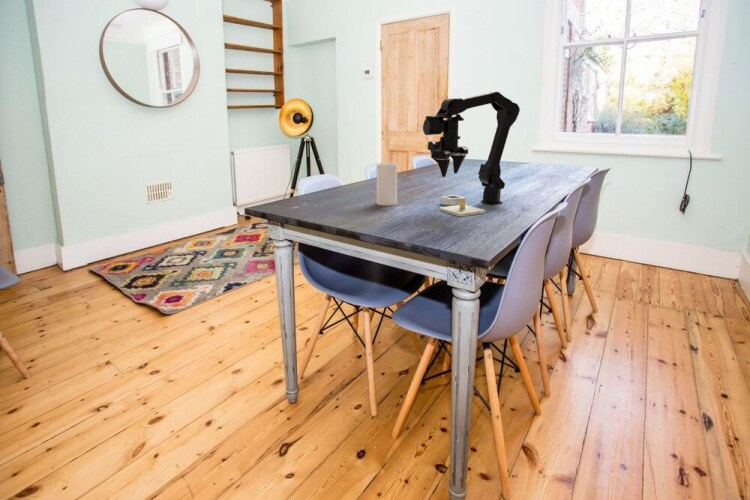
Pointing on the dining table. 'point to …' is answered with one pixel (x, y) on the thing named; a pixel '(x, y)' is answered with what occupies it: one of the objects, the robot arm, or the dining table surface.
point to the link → (451, 200)
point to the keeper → (462, 209)
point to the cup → (386, 183)
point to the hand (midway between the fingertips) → (449, 175)
